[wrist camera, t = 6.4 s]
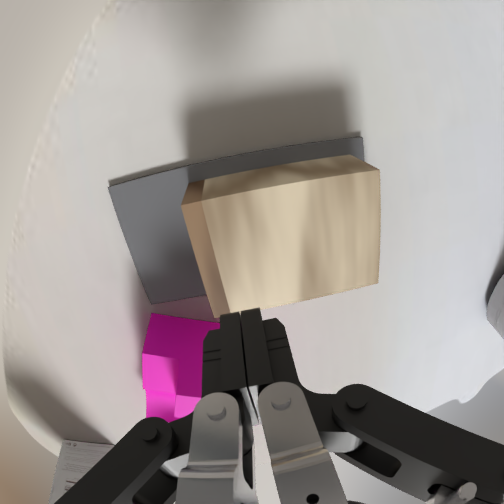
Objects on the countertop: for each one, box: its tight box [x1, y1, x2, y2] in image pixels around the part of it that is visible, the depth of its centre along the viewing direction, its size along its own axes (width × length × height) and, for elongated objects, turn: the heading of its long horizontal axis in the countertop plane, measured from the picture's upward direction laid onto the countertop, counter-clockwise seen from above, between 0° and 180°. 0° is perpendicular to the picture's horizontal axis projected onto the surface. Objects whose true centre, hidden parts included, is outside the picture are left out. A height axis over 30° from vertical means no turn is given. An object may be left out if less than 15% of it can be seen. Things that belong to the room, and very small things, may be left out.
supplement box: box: [48, 439, 114, 504], centre depth 27 cm, size 10×9×17 cm
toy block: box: [142, 313, 220, 422], centre depth 23 cm, size 15×6×8 cm, turn 167°
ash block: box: [181, 155, 381, 318], centre depth 18 cm, size 4×7×10 cm
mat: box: [108, 137, 364, 304], centre depth 20 cm, size 16×9×1 cm, turn 100°
